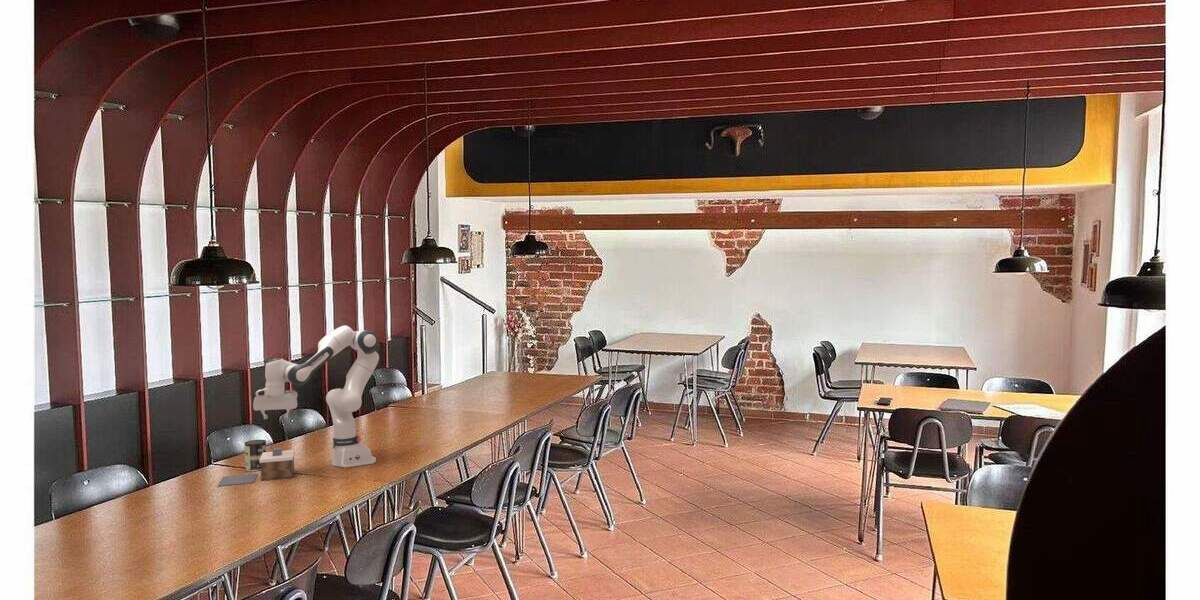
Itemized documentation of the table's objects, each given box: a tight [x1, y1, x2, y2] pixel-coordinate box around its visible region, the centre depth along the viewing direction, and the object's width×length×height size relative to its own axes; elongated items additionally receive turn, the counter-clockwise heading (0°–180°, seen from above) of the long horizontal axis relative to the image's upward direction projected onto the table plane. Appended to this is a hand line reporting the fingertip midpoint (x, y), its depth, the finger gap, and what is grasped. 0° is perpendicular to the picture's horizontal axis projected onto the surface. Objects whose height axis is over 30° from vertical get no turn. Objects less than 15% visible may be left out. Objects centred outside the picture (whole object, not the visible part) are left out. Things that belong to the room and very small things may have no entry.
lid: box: [259, 447, 296, 463], centre depth 385 cm, size 15×15×4 cm
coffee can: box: [243, 439, 267, 472], centre depth 399 cm, size 10×10×14 cm
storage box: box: [260, 456, 295, 481], centre depth 385 cm, size 14×14×9 cm
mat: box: [217, 473, 259, 487], centre depth 378 cm, size 16×16×1 cm
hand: (275, 418), depth 385 cm, fingers open, 8 cm apart
